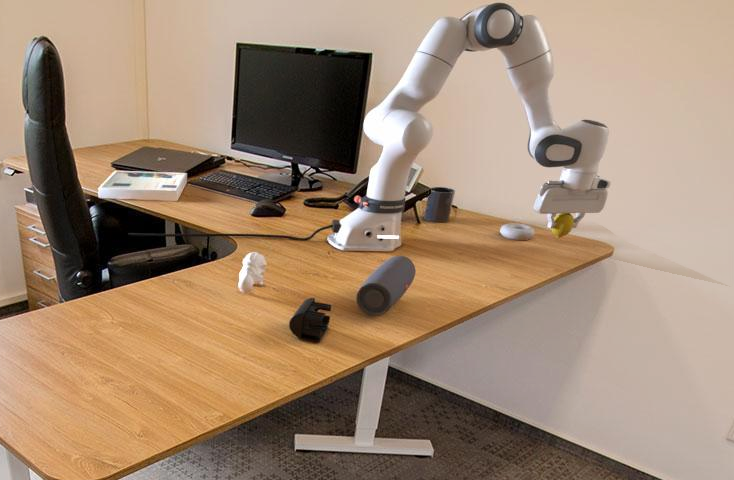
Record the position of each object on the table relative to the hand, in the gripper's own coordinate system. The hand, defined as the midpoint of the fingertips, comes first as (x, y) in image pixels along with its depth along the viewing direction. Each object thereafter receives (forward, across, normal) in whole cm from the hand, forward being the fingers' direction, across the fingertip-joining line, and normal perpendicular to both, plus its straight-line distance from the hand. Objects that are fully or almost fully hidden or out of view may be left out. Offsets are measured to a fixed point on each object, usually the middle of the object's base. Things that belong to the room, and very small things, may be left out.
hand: (561, 227), depth 206 cm
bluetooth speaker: (+8, -69, -36) cm, 79 cm away
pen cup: (+7, -22, +34) cm, 41 cm away
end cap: (+8, -93, -50) cm, 106 cm away
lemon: (+3, 0, 0) cm, 3 cm away
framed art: (+8, -118, +88) cm, 147 cm away
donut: (+7, -5, +12) cm, 15 cm away
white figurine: (+8, -100, -21) cm, 103 cm away
